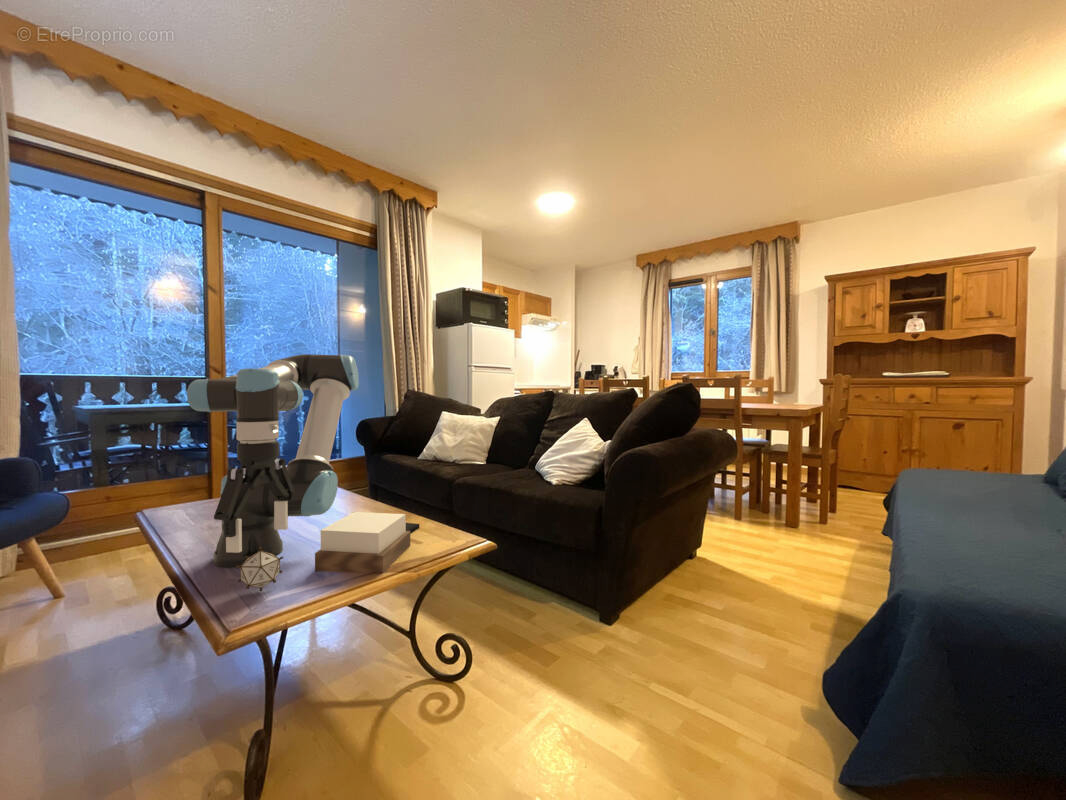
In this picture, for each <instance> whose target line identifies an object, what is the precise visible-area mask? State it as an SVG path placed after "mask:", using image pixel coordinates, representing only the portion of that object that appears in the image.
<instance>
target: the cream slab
mask: <svg viewBox="0 0 1066 800" xmlns="http://www.w3.org/2000/svg"><path fill="white" fill-rule="evenodd" d="M406 520H407V519H406V514H405V513H388V512H387V513H385V512H363V511H354V512H352V513H350V514H348V515H346V516H344V517H343V518H341V519H339V520H337V521H335V522H333V523H332V524H330V525H327V526H326V527H324V528H322V529H320V549H321V551H339V552H356V553H374V554H379V553H380V552H382V551H383V550H384V549H385V548H387V547H388V546H389V545H390V544H392V543H393V542H394V541H395V540H396V539H398V538H399V537H400V536H401V535H403V534H404V533H405V532H406V523H407V522H406Z"/></svg>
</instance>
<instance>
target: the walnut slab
mask: <svg viewBox="0 0 1066 800" xmlns="http://www.w3.org/2000/svg"><path fill="white" fill-rule="evenodd" d="M410 547H411V534H410V531H406V532H405V533H404V534H403V535H401V536H400V537H399V538H398V539H396V540H395V541H394V542H393V543H392V544H390V545H389V546H388V547H387V548H385V549H384V550H383V551H382V552H380V553H379V554H374V553H356V552H339V551H321V548H320V549H319V550H317V551H316V552H314V572H326V573H327V572H328V573H330V572H332V573H333V572H336V573H339V572H340V573H371V572H377V574H378V573H381V574H383V573H385V572H386V570H388V569H389V568H390V567H391V566H392V565H393V564H395V563H394V562H396V561H397V559H398V558H399V557H401V556H402V555H403V554H404V553H405V552H406V551H407V550H408V549H409V548H410Z"/></svg>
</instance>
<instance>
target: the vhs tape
mask: <svg viewBox="0 0 1066 800" xmlns="http://www.w3.org/2000/svg"><path fill="white" fill-rule="evenodd" d="M418 529H420V523H411V522H406V531H410V535H411V534H412V533H414V532H416V531H417V530H418Z"/></svg>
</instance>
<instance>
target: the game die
mask: <svg viewBox="0 0 1066 800" xmlns="http://www.w3.org/2000/svg"><path fill="white" fill-rule="evenodd" d="M273 553H274V551H272V552H271V553H268V552H265V551H261V547H259V551H258V552H257V553H255V554H254V555H252V556H251V557H248V556H246V559H247V560H246V561H245V562H244V563H243V564H242V565H241V566H240V565H238V566H236V567H235V568H237V569H240V572H239V573H240V579H238V580H237V582H236V583H240V582H241V581H242V583H244V584H245V585H246V586H245V590H249V588H258V589H259V592H260V593H262V591H263V588H264V587H266V586H267V585H268V584H270V583H272V582H273V584H275V583H277V580H276V578H277V576H278V575H279V573H280V574H282V573H284V571H283V570H280V568H281V560H283V559H284V556H280V557H278V556H275V555H273Z"/></svg>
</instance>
